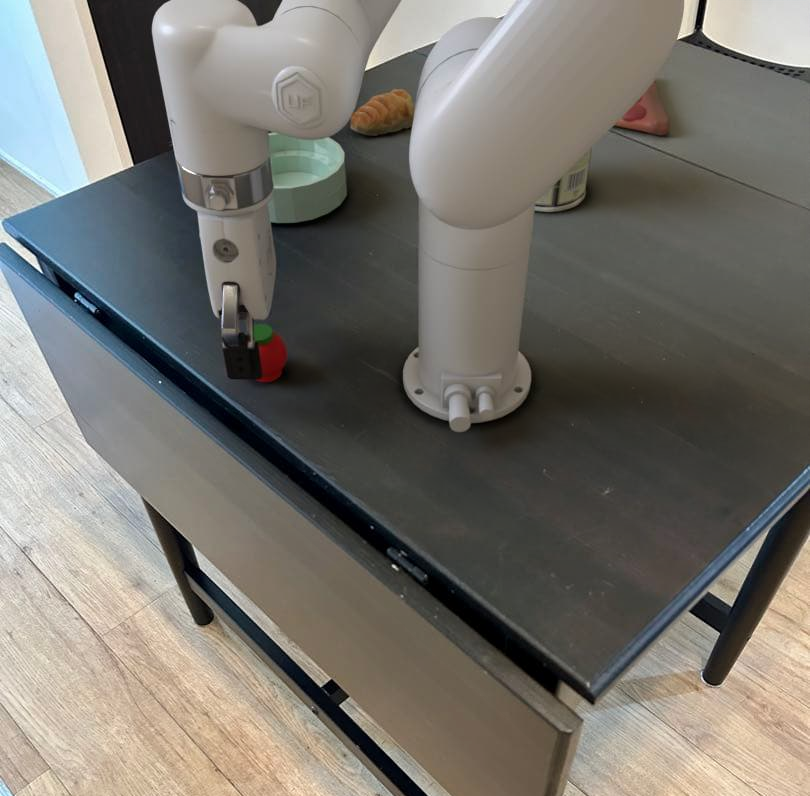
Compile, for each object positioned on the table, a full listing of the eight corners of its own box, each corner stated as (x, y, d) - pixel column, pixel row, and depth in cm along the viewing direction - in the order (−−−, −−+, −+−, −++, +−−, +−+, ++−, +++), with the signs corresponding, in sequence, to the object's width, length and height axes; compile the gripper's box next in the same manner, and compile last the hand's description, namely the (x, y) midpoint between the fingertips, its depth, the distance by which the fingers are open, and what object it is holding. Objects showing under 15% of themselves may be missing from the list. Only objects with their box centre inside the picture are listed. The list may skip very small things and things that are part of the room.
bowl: (345, 226, 101) (342, 186, 97) (228, 228, 101) (220, 189, 97) (348, 167, 110) (346, 129, 106) (241, 170, 110) (234, 131, 106)
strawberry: (288, 387, 82) (281, 346, 78) (241, 388, 82) (232, 347, 78) (291, 357, 85) (285, 316, 81) (246, 358, 85) (238, 317, 81)
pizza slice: (672, 121, 111) (522, 121, 112) (668, 138, 113) (520, 138, 114) (651, 63, 123) (516, 64, 124) (648, 79, 125) (515, 80, 126)
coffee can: (519, 164, 109) (530, 48, 98) (595, 180, 106) (615, 62, 95) (491, 202, 103) (499, 83, 92) (570, 220, 101) (589, 99, 90)
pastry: (369, 144, 113) (367, 116, 110) (340, 127, 117) (337, 99, 114) (422, 124, 117) (422, 95, 114) (392, 108, 120) (391, 80, 117)
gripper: (262, 235, 63) (282, 405, 76) (280, 126, 73) (295, 292, 87) (162, 233, 62) (199, 404, 76) (195, 124, 73) (222, 291, 86)
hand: (250, 344), depth 81 cm, fingers open, 9 cm apart
